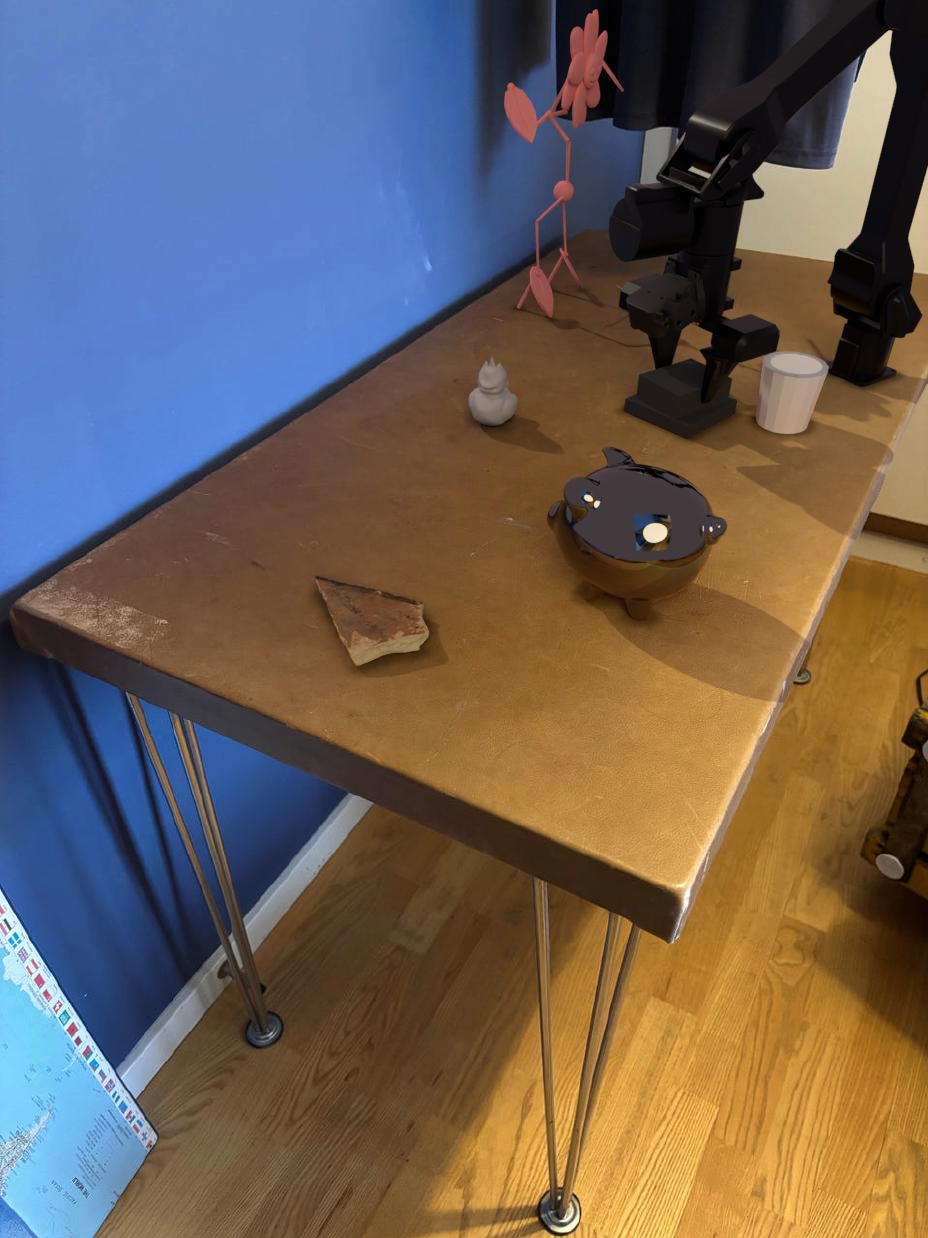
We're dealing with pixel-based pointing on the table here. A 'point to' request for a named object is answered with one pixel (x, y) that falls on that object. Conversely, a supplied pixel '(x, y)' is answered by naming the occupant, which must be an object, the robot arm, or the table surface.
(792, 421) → the shot glass
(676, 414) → the black pad
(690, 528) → the piggy bank
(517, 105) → the figurine
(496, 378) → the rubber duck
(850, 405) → the table surface
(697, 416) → the base pad
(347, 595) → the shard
